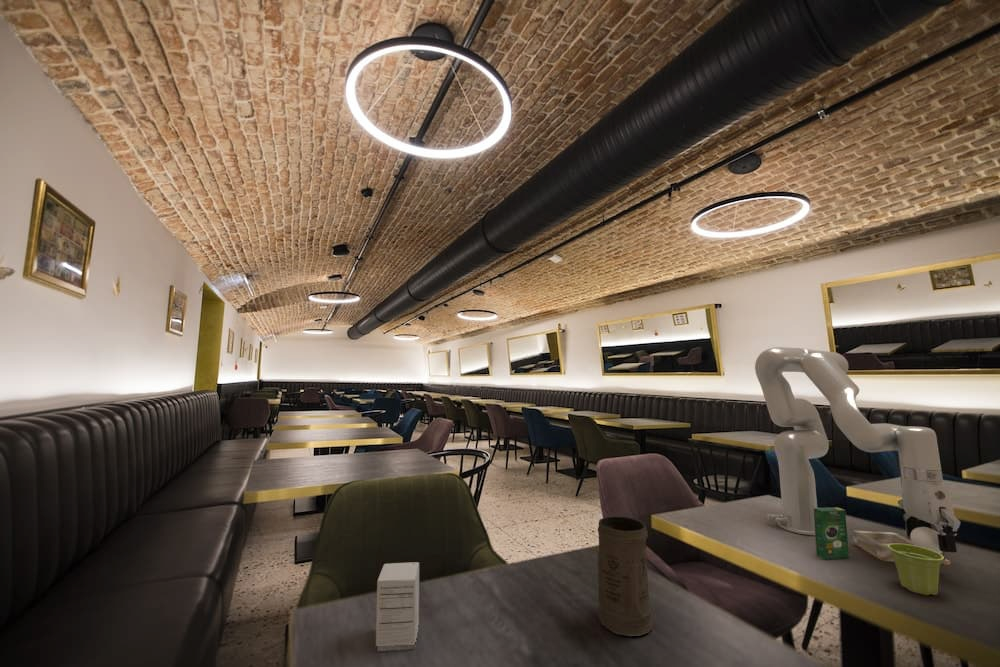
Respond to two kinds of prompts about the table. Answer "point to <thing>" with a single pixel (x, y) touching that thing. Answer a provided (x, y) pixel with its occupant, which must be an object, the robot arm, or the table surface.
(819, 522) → the coffee box
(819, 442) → the robot arm
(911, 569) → the plant pot
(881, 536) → the socket stand
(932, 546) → the lightbulb
